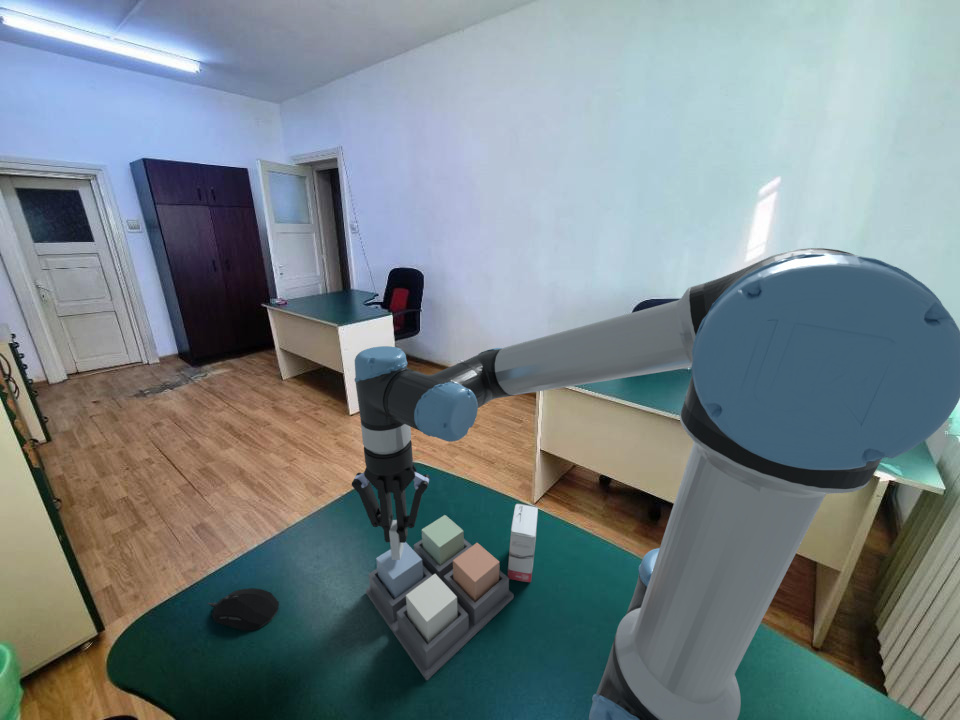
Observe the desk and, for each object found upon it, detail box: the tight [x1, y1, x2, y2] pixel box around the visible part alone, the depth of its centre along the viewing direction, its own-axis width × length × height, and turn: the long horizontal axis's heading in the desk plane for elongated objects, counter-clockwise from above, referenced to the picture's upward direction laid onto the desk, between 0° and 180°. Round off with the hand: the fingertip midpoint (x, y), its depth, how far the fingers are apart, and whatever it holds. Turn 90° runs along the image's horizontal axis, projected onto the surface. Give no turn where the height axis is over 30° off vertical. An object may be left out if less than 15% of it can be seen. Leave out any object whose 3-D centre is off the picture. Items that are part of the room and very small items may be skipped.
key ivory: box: [406, 574, 458, 644], centre depth 62 cm, size 6×6×5 cm
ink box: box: [507, 503, 539, 583], centre depth 76 cm, size 9×5×12 cm, turn 169°
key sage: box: [421, 514, 465, 566], centre depth 75 cm, size 6×6×5 cm
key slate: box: [375, 541, 423, 599], centre depth 69 cm, size 6×6×5 cm
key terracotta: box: [453, 542, 500, 602], centre depth 68 cm, size 6×6×5 cm
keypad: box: [365, 538, 515, 682], centre depth 70 cm, size 20×20×5 cm
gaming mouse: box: [206, 587, 280, 632], centre depth 68 cm, size 6×15×4 cm, turn 80°
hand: (397, 553), depth 68 cm, fingers closed
